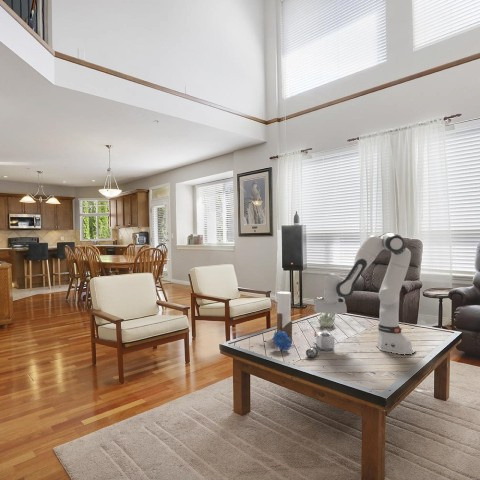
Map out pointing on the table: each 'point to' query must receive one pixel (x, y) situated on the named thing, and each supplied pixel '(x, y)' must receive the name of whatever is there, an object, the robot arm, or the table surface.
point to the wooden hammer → (285, 329)
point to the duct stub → (311, 352)
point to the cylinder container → (284, 307)
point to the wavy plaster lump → (326, 320)
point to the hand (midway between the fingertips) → (329, 319)
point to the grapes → (282, 340)
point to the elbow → (324, 340)
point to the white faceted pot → (325, 349)
